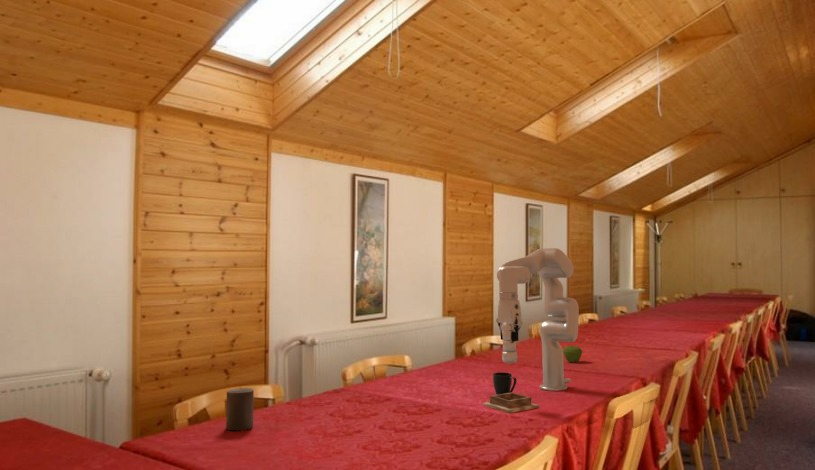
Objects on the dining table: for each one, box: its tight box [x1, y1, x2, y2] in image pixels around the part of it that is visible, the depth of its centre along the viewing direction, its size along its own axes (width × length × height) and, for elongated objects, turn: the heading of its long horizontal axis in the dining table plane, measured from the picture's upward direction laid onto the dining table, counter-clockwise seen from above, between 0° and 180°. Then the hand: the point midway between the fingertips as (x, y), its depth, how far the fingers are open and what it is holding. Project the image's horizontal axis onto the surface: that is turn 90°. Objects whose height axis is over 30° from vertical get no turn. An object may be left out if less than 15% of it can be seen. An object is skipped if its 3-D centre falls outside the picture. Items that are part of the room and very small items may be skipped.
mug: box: [492, 371, 518, 395], centre depth 275 cm, size 8×12×10 cm
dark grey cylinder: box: [225, 387, 255, 432], centre depth 228 cm, size 10×10×15 cm
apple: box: [562, 345, 583, 363], centre depth 362 cm, size 11×10×10 cm
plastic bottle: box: [501, 322, 519, 364], centre depth 256 cm, size 6×7×20 cm
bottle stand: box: [482, 392, 540, 414], centre depth 255 cm, size 16×16×4 cm
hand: (509, 339), depth 256 cm, fingers closed on plastic bottle, 6 cm apart
